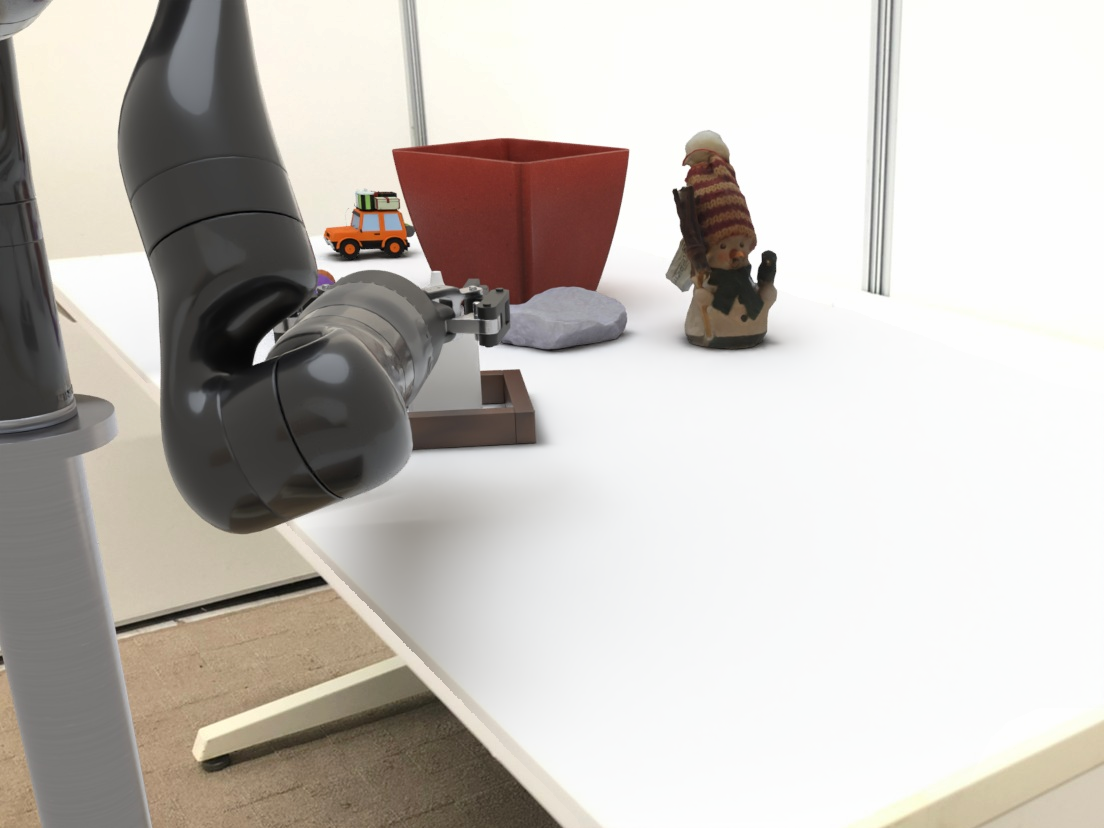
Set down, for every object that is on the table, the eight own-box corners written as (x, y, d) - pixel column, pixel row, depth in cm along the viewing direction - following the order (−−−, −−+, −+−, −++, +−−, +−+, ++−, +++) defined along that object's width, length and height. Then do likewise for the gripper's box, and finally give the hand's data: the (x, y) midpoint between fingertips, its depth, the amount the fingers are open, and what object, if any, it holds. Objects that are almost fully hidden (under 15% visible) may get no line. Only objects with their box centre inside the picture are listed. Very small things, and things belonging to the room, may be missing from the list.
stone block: (634, 348, 133) (559, 317, 136) (640, 305, 130) (563, 275, 134) (565, 376, 123) (486, 342, 127) (570, 330, 121) (489, 297, 125)
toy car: (423, 256, 172) (418, 189, 169) (334, 262, 166) (327, 192, 163) (408, 248, 177) (403, 183, 174) (321, 254, 172) (314, 186, 168)
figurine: (632, 345, 127) (629, 135, 119) (671, 320, 138) (671, 127, 130) (762, 356, 124) (767, 141, 116) (791, 330, 135) (798, 132, 127)
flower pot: (529, 325, 134) (522, 160, 128) (399, 303, 143) (386, 147, 137) (635, 297, 149) (634, 147, 143) (512, 278, 158) (505, 137, 152)
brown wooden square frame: (359, 452, 94) (356, 419, 93) (363, 404, 105) (360, 375, 104) (536, 442, 97) (534, 411, 96) (521, 397, 108) (519, 368, 107)
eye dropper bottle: (420, 414, 103) (409, 265, 99) (488, 417, 103) (480, 268, 98) (403, 429, 99) (390, 275, 95) (473, 432, 99) (463, 278, 94)
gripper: (487, 284, 71) (514, 238, 86) (228, 281, 70) (300, 235, 85) (494, 412, 74) (519, 347, 89) (245, 412, 73) (312, 345, 88)
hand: (412, 292), depth 87 cm, fingers open, 8 cm apart
